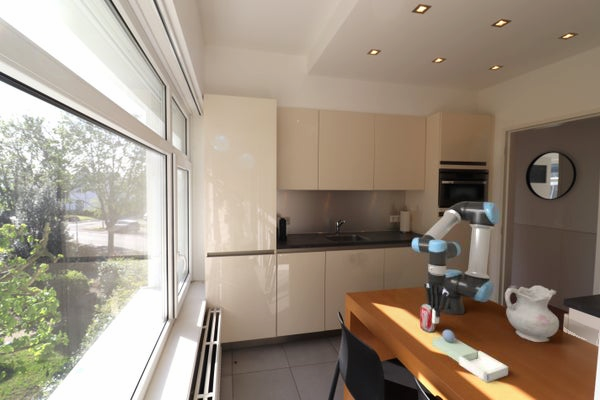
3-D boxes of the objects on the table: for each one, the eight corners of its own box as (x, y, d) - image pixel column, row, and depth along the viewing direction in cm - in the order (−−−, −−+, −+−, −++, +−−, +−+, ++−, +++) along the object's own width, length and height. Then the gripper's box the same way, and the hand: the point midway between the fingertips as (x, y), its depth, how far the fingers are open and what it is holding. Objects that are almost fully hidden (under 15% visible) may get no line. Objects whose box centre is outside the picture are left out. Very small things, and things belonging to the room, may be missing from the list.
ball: (447, 337, 125) (448, 326, 125) (457, 343, 121) (457, 332, 120) (439, 339, 124) (439, 328, 123) (449, 345, 119) (449, 334, 119)
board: (448, 340, 128) (448, 334, 128) (477, 358, 115) (477, 351, 115) (432, 345, 124) (432, 338, 124) (460, 363, 111) (460, 356, 111)
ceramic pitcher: (527, 350, 122) (534, 298, 119) (490, 325, 141) (495, 280, 138) (567, 346, 125) (574, 295, 122) (526, 322, 144) (531, 278, 141)
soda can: (437, 333, 134) (437, 310, 134) (421, 332, 135) (422, 308, 135) (433, 326, 141) (433, 304, 140) (418, 325, 142) (418, 302, 142)
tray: (479, 358, 115) (479, 350, 115) (508, 374, 104) (508, 366, 104) (459, 364, 111) (459, 356, 110) (486, 382, 100) (486, 374, 100)
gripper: (420, 270, 132) (418, 317, 133) (442, 278, 120) (441, 330, 121) (431, 268, 135) (430, 315, 136) (455, 276, 123) (453, 327, 123)
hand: (435, 322), depth 128 cm, fingers closed
